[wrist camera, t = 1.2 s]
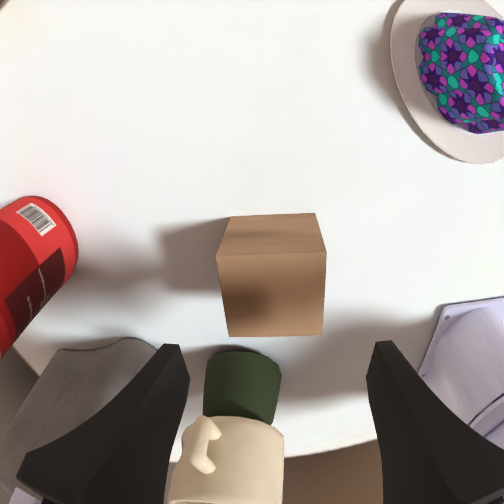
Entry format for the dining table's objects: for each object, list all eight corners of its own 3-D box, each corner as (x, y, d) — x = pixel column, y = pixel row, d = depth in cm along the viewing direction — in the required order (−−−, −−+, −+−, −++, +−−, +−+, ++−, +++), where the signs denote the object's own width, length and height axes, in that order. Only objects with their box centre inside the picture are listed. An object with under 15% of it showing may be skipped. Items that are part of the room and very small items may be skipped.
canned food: (4, 196, 19) (-90, 260, 9) (68, 188, 18) (-49, 267, 8) (28, 275, 22) (-44, 352, 13) (92, 281, 22) (15, 383, 12)
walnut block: (313, 283, 20) (321, 334, 16) (239, 285, 21) (229, 336, 16) (314, 212, 18) (326, 252, 13) (230, 216, 18) (215, 255, 14)
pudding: (481, -21, 8) (524, -36, 4) (542, 130, 13) (588, 147, 8) (346, 11, 12) (372, -20, 7) (433, 189, 16) (476, 221, 12)
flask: (80, 384, 29) (18, 518, 12) (50, 349, 27) (-30, 487, 9) (181, 376, 26) (124, 579, 8) (147, 332, 24) (55, 558, 6)
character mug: (180, 327, 23) (125, 480, 11) (270, 314, 21) (256, 494, 10) (225, 405, 28) (204, 523, 16) (296, 398, 26) (295, 527, 15)
